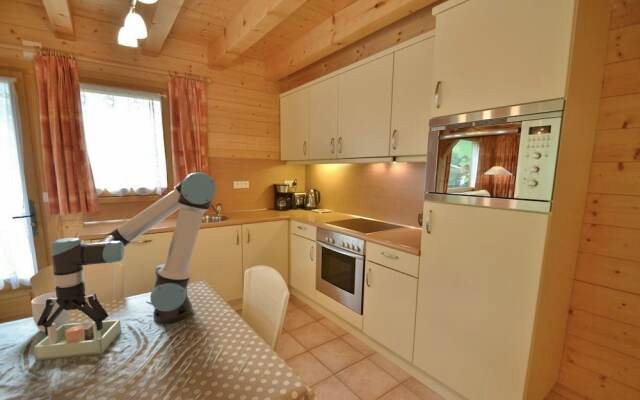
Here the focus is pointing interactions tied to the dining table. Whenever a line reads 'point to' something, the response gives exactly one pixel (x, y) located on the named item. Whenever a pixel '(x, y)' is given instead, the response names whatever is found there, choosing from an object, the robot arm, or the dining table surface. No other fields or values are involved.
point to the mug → (39, 306)
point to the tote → (77, 343)
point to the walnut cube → (88, 330)
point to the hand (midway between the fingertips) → (75, 340)
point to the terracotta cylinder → (75, 334)
